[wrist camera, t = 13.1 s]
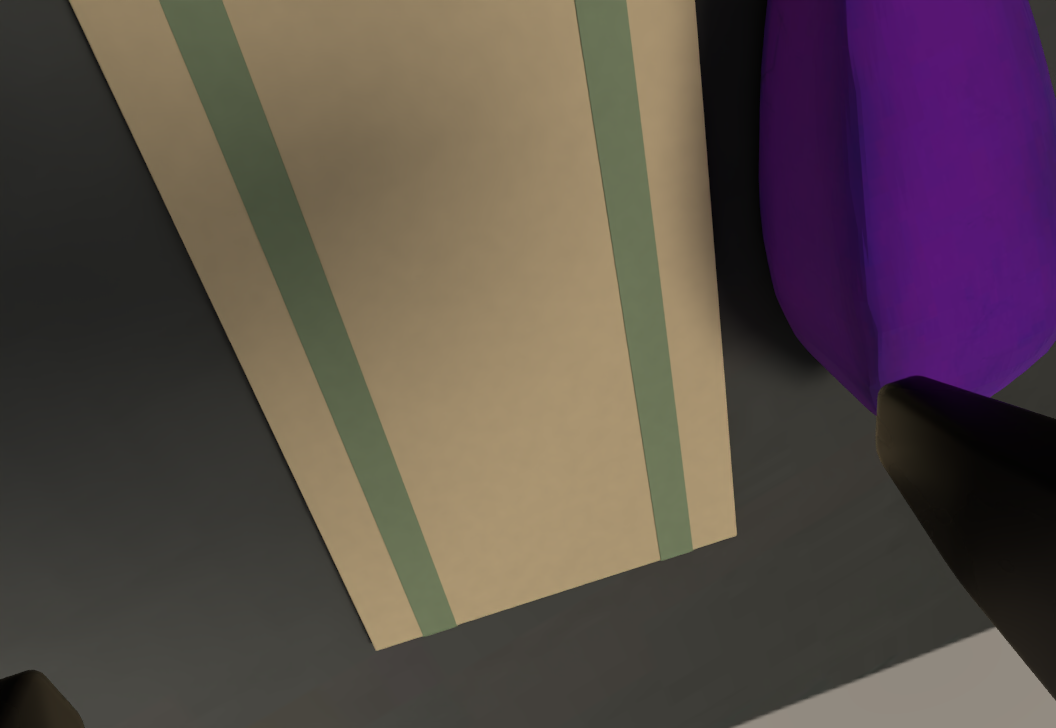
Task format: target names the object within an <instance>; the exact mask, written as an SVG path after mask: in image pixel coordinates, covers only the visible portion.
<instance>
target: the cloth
mask: <svg viewBox="0 0 1056 728" xmlns="http://www.w3.org/2000/svg"><path fill="white" fill-rule="evenodd" d="M69 2H70V4H71V6H72V8H73V10H74V12H75V14H76V17H77V19H78V21H79V23H80V25H81V27H82V29H83V31H84V33H85V36H86V38H87V40H88V42H89V44H90V46H91V48H92V50H93V53H94V55H95V57H96V59H97V61H98V63H99V65H100V67H101V69H102V72H103V74H104V76H105V78H106V80H107V82H108V84H109V86H110V89H111V91H112V93H113V95H114V97H115V99H116V101H117V103H118V105H119V108H120V110H121V112H122V114H123V116H124V118H125V120H126V122H127V125H128V127H129V129H130V131H131V133H132V135H133V137H134V139H135V141H136V144H137V146H138V148H139V150H140V152H141V154H142V156H143V158H144V161H145V163H146V165H147V167H148V169H149V171H150V173H151V175H152V177H153V180H154V182H155V184H156V186H157V188H158V190H159V192H160V194H161V197H162V199H163V201H164V203H165V205H166V207H167V209H168V211H169V213H170V216H171V218H172V220H173V222H174V224H175V226H176V228H177V230H178V233H179V235H180V237H181V239H182V241H183V243H184V245H185V247H186V249H187V252H188V254H189V256H190V258H191V260H192V262H193V264H194V266H195V269H196V271H197V273H198V275H199V277H200V279H201V281H202V283H203V285H204V288H205V290H206V292H207V294H208V296H209V298H210V300H211V302H212V304H213V307H214V309H215V311H216V313H217V315H218V317H219V319H220V321H221V324H222V326H223V328H224V330H225V332H226V334H227V336H228V338H229V340H230V343H231V345H232V347H233V349H234V351H235V353H236V355H237V357H238V360H239V362H240V364H241V366H242V368H243V370H244V372H245V374H246V376H247V379H248V381H249V383H250V385H251V387H252V389H253V391H254V393H255V396H256V398H257V400H258V402H259V404H260V406H261V408H262V410H263V412H264V415H265V417H266V419H267V421H268V423H269V425H270V427H271V429H272V432H273V434H274V436H275V438H276V440H277V442H278V444H279V446H280V448H281V451H282V453H283V455H284V457H285V459H286V461H287V463H288V465H289V468H290V470H291V472H292V474H293V476H294V478H295V480H296V482H297V484H298V487H299V489H300V491H301V493H302V495H303V497H304V499H305V501H306V504H307V506H308V508H309V510H310V512H311V514H312V516H313V518H314V520H315V523H316V525H317V527H318V529H319V531H320V533H321V535H322V537H323V540H324V542H325V544H326V546H327V548H328V550H329V552H330V554H331V556H332V559H333V561H334V563H335V565H336V567H337V569H338V571H339V573H340V576H341V578H342V580H343V582H344V584H345V586H346V588H347V590H348V592H349V595H350V597H351V599H352V601H353V603H354V605H355V607H356V609H357V612H358V614H359V616H360V618H361V620H362V622H363V624H364V626H365V628H366V631H367V633H368V635H369V637H370V639H371V641H372V643H373V645H374V648H375V650H376V651H377V650H381V649H384V648H387V647H390V646H393V645H396V644H399V643H402V642H406V641H409V640H412V639H415V638H418V637H421V636H423V637H426V636H429V635H432V634H435V633H438V632H441V631H444V630H447V629H450V628H454V627H457V625H459V624H462V623H465V622H468V621H471V620H474V619H477V618H481V617H484V616H487V615H490V614H493V613H496V612H499V611H502V610H506V609H509V608H512V607H515V606H518V605H521V604H524V603H527V602H531V601H534V600H537V599H540V598H543V597H546V596H549V595H552V594H556V593H559V592H562V591H565V590H568V589H571V588H574V587H577V586H581V585H584V584H587V583H590V582H593V581H596V580H599V579H602V578H606V577H609V576H612V575H615V574H618V573H621V572H624V571H627V570H631V569H634V568H637V567H640V566H643V565H646V564H649V563H652V562H656V561H659V560H661V561H663V560H666V559H669V558H672V557H675V556H678V555H682V554H685V553H688V552H691V551H693V549H696V548H699V547H702V546H706V545H709V544H712V543H715V542H718V541H721V540H724V539H727V538H731V537H734V536H736V535H737V531H736V518H735V505H734V492H733V480H732V467H731V454H730V441H729V428H728V416H727V403H726V390H725V377H724V365H723V352H722V339H721V326H720V313H719V301H718V288H717V275H716V262H715V250H714V237H713V224H712V211H711V198H710V186H709V173H708V160H707V147H706V135H705V122H704V109H703V96H702V83H701V71H700V58H699V45H698V32H697V20H696V7H695V0H69Z"/></svg>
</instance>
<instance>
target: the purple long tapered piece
mask: <svg viewBox="0 0 1056 728" xmlns="http://www.w3.org/2000/svg"><path fill="white" fill-rule="evenodd" d="M759 195H760V213H761V222H762V232H763V239H764V244H765V249H766V254H767V260H768V265H769V269H770V274H771V279H772V283H773V287H774V291H775V295H776V297H777V299H778V302H779V304H780V306H781V308H782V311H783V313H784V315H785V317H786V319H787V321H788V323H789V325H790V327H791V329H792V330H793V332H794V334H795V336H796V337H797V338H798V340H799V341H800V342H801V343H802V345H803V346H804V347H805V348H806V349H807V351H808V352H809V353H810V354H811V355H812V356H813V357H814V358H815V359H816V360H817V361H818V362H819V363H820V364H821V365H823V366H824V367H825V368H826V369H827V370H828V371H829V372H830V373H831V374H832V375H833V376H834V377H835V378H836V379H837V380H838V381H839V382H840V383H841V384H842V385H843V386H844V387H845V388H846V389H847V390H848V391H850V392H851V393H852V394H853V395H854V396H855V397H856V398H857V399H858V400H859V401H860V402H861V403H862V404H863V405H864V406H865V407H866V408H867V409H869V410H870V411H871V412H872V413H873V414H875V415H876V416H877V398H878V393H879V391H880V389H881V387H883V386H884V385H886V384H888V383H891V382H894V381H897V380H900V379H903V378H906V377H909V376H914V375H920V376H924V377H928V378H931V379H934V380H937V381H940V382H943V383H946V384H949V385H952V386H955V387H959V388H962V389H965V390H968V391H971V392H974V393H977V394H980V395H983V396H986V397H991V396H992V395H994V394H995V393H997V392H998V391H1000V390H1001V389H1003V388H1004V387H1005V386H1007V385H1008V384H1009V383H1010V382H1012V381H1013V380H1014V379H1015V378H1017V377H1018V376H1019V375H1021V374H1022V373H1024V372H1025V371H1026V370H1027V369H1028V368H1029V367H1030V366H1031V365H1033V364H1034V363H1035V362H1036V361H1037V360H1038V359H1040V358H1041V357H1042V356H1043V355H1044V354H1046V353H1047V352H1048V350H1049V349H1050V348H1051V346H1052V345H1053V344H1054V342H1055V341H1056V99H1055V95H1054V92H1053V88H1052V84H1051V80H1050V76H1049V71H1048V67H1047V63H1046V59H1045V56H1044V52H1043V49H1042V45H1041V41H1040V38H1039V34H1038V31H1037V27H1036V24H1035V20H1034V17H1033V14H1032V11H1031V8H1030V5H1029V2H1028V0H767V10H766V20H765V29H764V41H763V53H762V65H761V89H760V129H759Z"/></svg>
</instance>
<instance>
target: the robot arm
mask: <svg viewBox="0 0 1056 728" xmlns="http://www.w3.org/2000/svg"><path fill="white" fill-rule="evenodd" d="M875 441H876V449H877V453H878V456H879V458H880V461H881V463H882V464H883V466H884V468H885V469H886V471H887V472H888V474H889V475H890V477H891V478H892V480H893V482H894V483H895V485H896V486H897V488H898V489H899V491H900V492H901V494H902V495H903V497H904V499H905V500H906V502H907V503H908V505H909V506H910V508H911V509H912V511H913V512H914V514H915V515H916V517H917V519H918V520H919V522H920V523H921V525H922V526H923V528H924V529H925V531H926V532H927V534H928V536H929V537H930V539H931V540H932V542H933V543H934V545H935V546H936V548H937V549H938V551H939V553H940V554H941V556H942V557H943V559H944V560H945V562H946V563H947V565H948V566H949V567H950V569H951V570H952V572H953V573H954V575H955V576H956V578H957V579H958V580H959V581H960V583H961V584H962V585H963V587H964V588H965V589H966V591H967V592H968V593H969V594H970V596H971V597H972V598H973V599H974V601H975V602H976V603H977V604H978V606H979V607H980V608H981V609H982V611H983V612H984V613H985V614H986V615H987V617H988V618H989V619H990V620H991V622H992V623H993V624H994V625H995V627H996V628H997V629H998V630H999V631H1000V633H1001V634H1002V635H1003V636H1004V638H1005V639H1006V640H1007V641H1008V642H1009V644H1010V645H1011V646H1012V647H1013V649H1014V650H1015V651H1016V652H1017V654H1018V655H1019V656H1020V657H1021V658H1022V660H1023V661H1024V662H1025V663H1026V665H1027V666H1028V667H1029V668H1030V669H1031V671H1032V672H1033V673H1034V674H1035V676H1036V677H1037V678H1038V679H1039V681H1040V682H1041V683H1042V684H1043V685H1044V687H1045V688H1046V689H1047V690H1048V692H1049V693H1050V694H1051V695H1052V697H1053V698H1054V699H1055V700H1056V419H1054V418H1051V417H1047V416H1044V415H1041V414H1038V413H1035V412H1032V411H1029V410H1026V409H1023V408H1020V407H1017V406H1014V405H1011V404H1008V403H1005V402H1001V401H998V400H995V399H992V398H989V397H986V396H983V395H980V394H977V393H974V392H971V391H968V390H965V389H962V388H959V387H955V386H952V385H949V384H946V383H943V382H940V381H937V380H934V379H931V378H928V377H924V376H920V375H914V376H909V377H906V378H903V379H900V380H897V381H894V382H891V383H888V384H886V385H884V386H883V387H881V389H880V391H879V393H878V398H877V417H876V440H875ZM0 728H85V727H84V724H83V721H82V719H81V717H80V715H79V714H78V712H77V711H76V710H75V709H74V707H73V706H72V705H71V704H70V703H69V702H68V701H67V700H66V698H65V697H64V696H63V695H62V694H61V693H60V692H59V691H58V690H57V688H56V687H55V686H54V685H53V684H52V683H51V682H50V681H49V679H48V678H47V677H46V676H45V675H44V674H43V673H41V672H39V671H36V670H27V671H24V672H21V673H18V674H15V675H12V676H9V677H6V678H3V679H0Z"/></svg>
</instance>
